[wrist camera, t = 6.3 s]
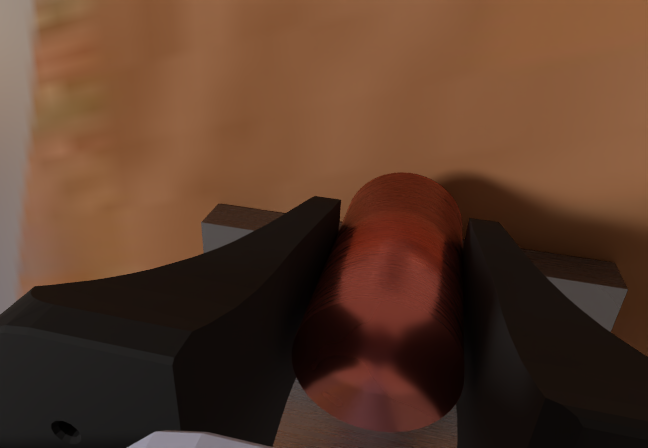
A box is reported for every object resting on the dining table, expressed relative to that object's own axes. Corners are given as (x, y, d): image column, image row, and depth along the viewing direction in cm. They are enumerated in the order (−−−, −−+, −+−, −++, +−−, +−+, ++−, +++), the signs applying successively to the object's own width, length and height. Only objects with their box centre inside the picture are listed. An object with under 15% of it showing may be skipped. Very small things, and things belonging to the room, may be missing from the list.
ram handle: (456, 430, 15) (456, 617, 11) (301, 397, 16) (245, 559, 12) (517, 186, 12) (553, 331, 7) (309, 160, 12) (231, 275, 8)
